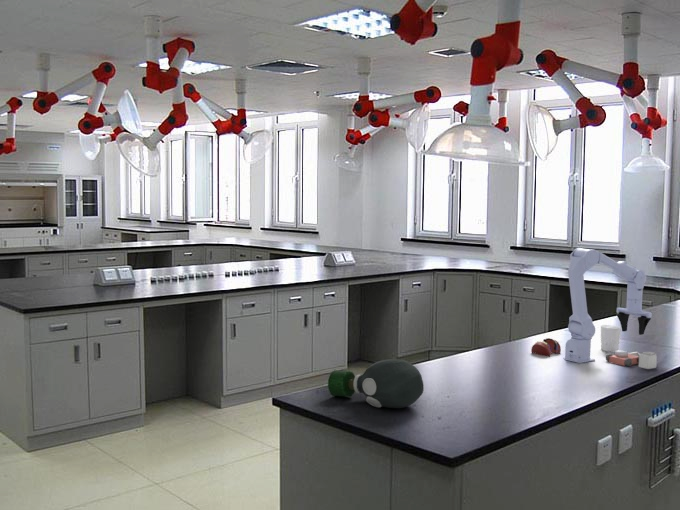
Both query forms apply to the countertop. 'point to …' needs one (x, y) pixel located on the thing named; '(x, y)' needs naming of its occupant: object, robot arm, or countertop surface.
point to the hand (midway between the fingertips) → (632, 332)
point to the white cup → (610, 337)
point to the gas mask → (381, 384)
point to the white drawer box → (647, 360)
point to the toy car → (623, 358)
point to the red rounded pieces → (546, 347)
